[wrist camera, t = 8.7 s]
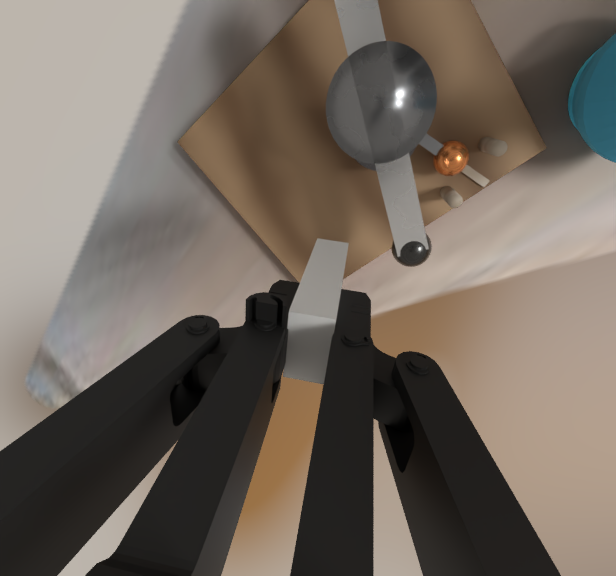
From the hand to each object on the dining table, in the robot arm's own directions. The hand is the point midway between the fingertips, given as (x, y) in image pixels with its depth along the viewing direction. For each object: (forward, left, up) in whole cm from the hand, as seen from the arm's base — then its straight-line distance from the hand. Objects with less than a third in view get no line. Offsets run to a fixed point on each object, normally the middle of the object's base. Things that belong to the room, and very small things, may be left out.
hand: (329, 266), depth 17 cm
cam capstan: (-7, -4, -14) cm, 16 cm away
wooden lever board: (-3, -3, -16) cm, 16 cm away
